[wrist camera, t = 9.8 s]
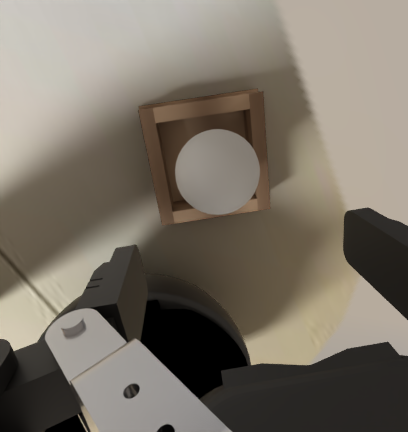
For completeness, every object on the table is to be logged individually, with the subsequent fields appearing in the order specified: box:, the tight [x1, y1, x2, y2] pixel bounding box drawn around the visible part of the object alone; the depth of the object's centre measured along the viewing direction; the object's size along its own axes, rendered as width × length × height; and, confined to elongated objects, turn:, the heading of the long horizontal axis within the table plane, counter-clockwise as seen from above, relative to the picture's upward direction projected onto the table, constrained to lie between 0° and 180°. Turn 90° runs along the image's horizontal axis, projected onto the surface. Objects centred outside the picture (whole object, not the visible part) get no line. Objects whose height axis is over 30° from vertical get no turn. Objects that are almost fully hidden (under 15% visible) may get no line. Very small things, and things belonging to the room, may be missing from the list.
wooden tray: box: [138, 89, 270, 226], centre depth 28 cm, size 11×11×4 cm
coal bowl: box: [38, 274, 251, 432], centre depth 28 cm, size 20×20×19 cm
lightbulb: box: [175, 129, 260, 215], centre depth 24 cm, size 6×6×11 cm
